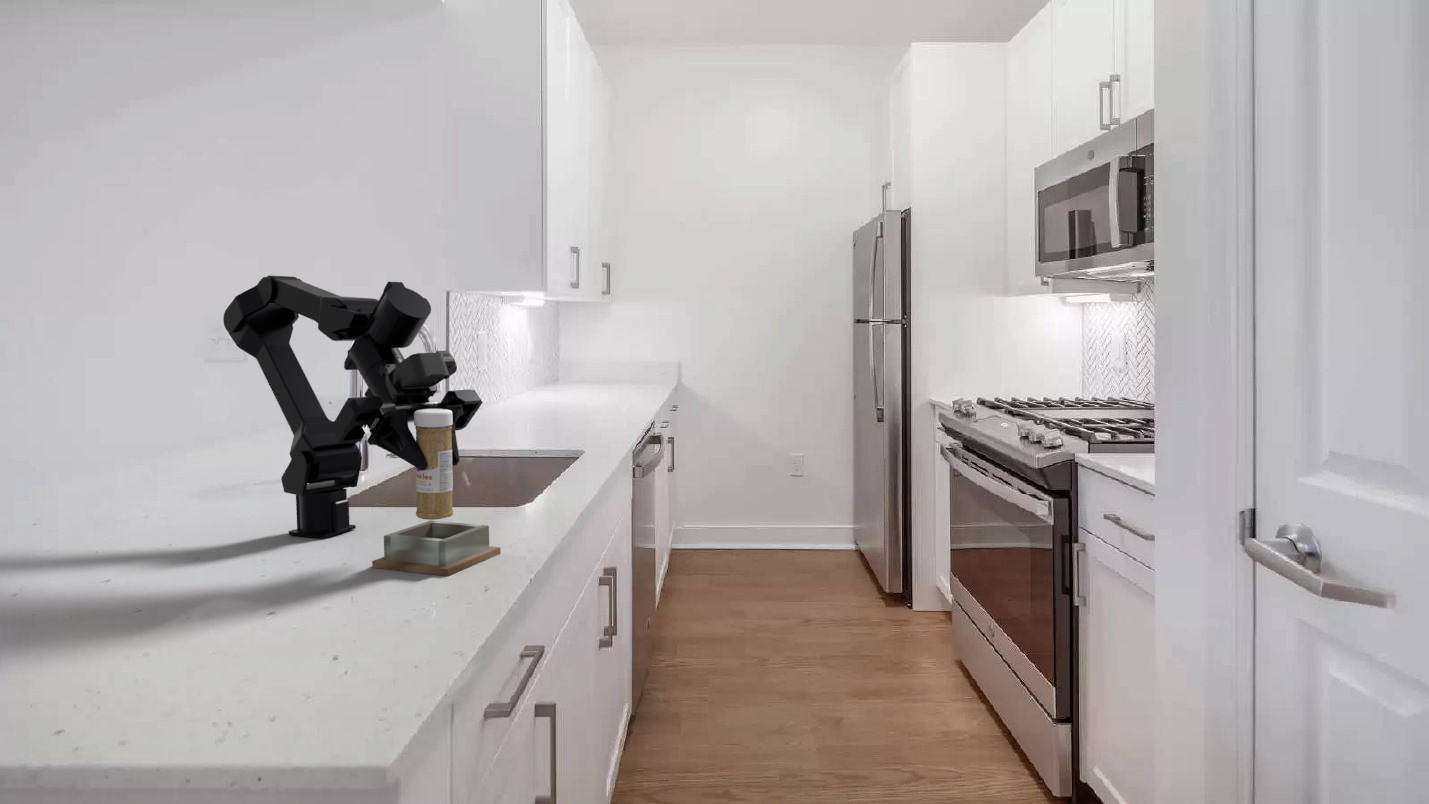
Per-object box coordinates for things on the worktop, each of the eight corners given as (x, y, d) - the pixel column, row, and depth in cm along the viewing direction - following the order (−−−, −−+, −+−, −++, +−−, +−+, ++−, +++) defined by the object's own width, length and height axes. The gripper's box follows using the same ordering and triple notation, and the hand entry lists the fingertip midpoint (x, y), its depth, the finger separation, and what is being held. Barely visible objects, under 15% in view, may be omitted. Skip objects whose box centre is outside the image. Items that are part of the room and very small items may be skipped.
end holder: (372, 567, 106) (371, 536, 106) (429, 546, 117) (429, 518, 116) (448, 576, 103) (447, 544, 102) (500, 553, 113) (499, 524, 113)
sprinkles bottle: (408, 518, 108) (405, 410, 107) (435, 511, 112) (433, 407, 111) (434, 522, 106) (432, 412, 105) (462, 515, 110) (460, 409, 109)
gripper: (343, 329, 102) (402, 431, 96) (472, 329, 117) (529, 417, 111) (308, 392, 107) (362, 492, 102) (436, 384, 122) (489, 471, 117)
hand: (441, 465), depth 108 cm, fingers closed on sprinkles bottle, 4 cm apart
